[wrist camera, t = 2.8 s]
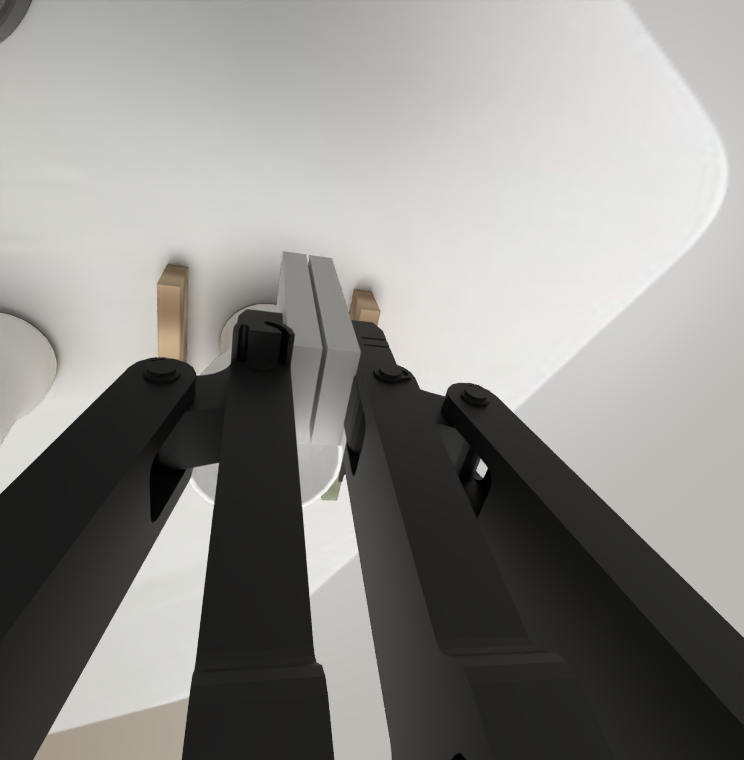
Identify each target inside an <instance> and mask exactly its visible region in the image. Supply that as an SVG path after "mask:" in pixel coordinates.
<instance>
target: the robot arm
mask: <svg viewBox="0 0 744 760" xmlns="http://www.w3.org/2000/svg"><path fill="white" fill-rule="evenodd" d="M30 2H31V0H0V43H1V42H2V41H3V40H5V39H6V38H7V37H8V36H9V35H10V34H11V33H12V32H13V31H14V29H15V28H16V27H17V26H18V24H19V23H20V21H21V20H22V18H23V17H24V15H25V13H26V11H27V9H28V7H29V5H30ZM344 429H345V435H346V440H347V441H346V445H345V450H344V454H343V459H342V463H341V468H340V472H339V477H338V482H342V481H343V476H344V475H345V474H346V479H347V485H348V491H349V497H350V503H351V509H352V515H353V521H354V527H355V533H356V539H357V545H358V551H359V557H360V563H361V568H362V574H363V581H364V587H365V592H366V599H367V605H368V610H369V617H370V622H371V629H372V635H373V640H374V647H375V653H376V659H377V665H378V671H379V676H380V683H381V689H382V695H383V701H384V707H385V712H386V719H387V724H388V731H389V737H390V743H391V752H392V760H744V637H742V636H741V635H740V634H739V633H738V632H737V631H736V630H735V629H734V628H733V627H732V626H731V625H730V624H729V623H728V622H727V621H726V620H725V619H724V618H723V617H722V616H721V615H720V614H719V613H718V612H717V611H716V610H715V609H714V608H713V607H712V606H711V605H710V604H709V603H708V602H707V601H706V600H704V598H703V597H702V596H701V595H699V594H698V593H697V592H696V591H695V590H694V589H693V588H692V587H691V586H690V585H689V584H688V583H687V582H686V581H685V580H684V579H683V578H682V577H681V576H680V575H679V574H678V573H677V572H676V571H675V570H674V569H673V568H672V567H671V566H670V565H669V564H668V563H667V562H666V561H665V560H664V559H663V558H661V557H660V555H659V554H657V553H656V552H655V551H654V550H653V549H652V548H651V547H650V546H649V545H648V544H647V543H646V542H645V541H644V540H643V539H642V538H641V537H640V536H639V535H638V534H637V533H636V532H635V531H634V530H633V529H632V528H631V527H630V526H629V525H628V524H627V523H626V522H625V521H624V520H623V519H622V518H621V517H620V516H618V514H617V513H615V512H614V511H613V510H612V509H611V508H610V507H609V506H608V505H607V504H606V503H605V502H604V501H603V500H602V499H601V498H600V497H599V496H598V495H597V494H596V493H595V492H594V491H593V490H591V488H590V487H589V486H588V485H586V483H585V482H584V481H582V479H581V478H580V477H578V475H577V474H576V473H575V472H573V471H572V470H571V469H570V468H569V467H568V466H567V465H566V464H565V463H564V462H563V461H562V460H561V459H560V458H559V457H558V456H557V455H556V454H555V453H554V452H553V451H552V450H551V449H550V448H549V447H548V446H547V445H546V444H545V443H544V442H543V441H542V440H541V439H540V438H539V437H538V436H537V435H535V433H534V432H532V431H531V430H530V429H529V428H528V427H527V426H526V425H525V424H524V423H523V422H522V421H521V420H520V419H519V418H518V417H517V416H516V415H515V414H514V413H513V412H512V411H511V410H510V409H509V408H508V407H507V406H506V405H505V404H504V403H503V402H502V401H501V400H500V399H499V398H498V397H497V396H495V395H494V394H493V393H491V392H490V391H489V390H486V389H484V388H482V387H481V386H479V385H476V384H475V385H474V384H472V383H457V384H452V385H451V386H450V387H449V388H448V390H447V393H446V396H441V395H437V394H434V393H430V392H427V391H424V390H421V389H420V388H419V386H418V383H417V381H416V379H415V377H414V376H413V375H412V373H411V372H409V371H408V370H406V369H405V368H404V367H401V366H399V365H397V364H396V362H395V359H394V357H393V354H392V352H391V350H390V348H389V345H388V342H387V341H386V338H385V335H384V333H383V331H382V330H381V329H380V328H379V327H378V326H376V325H375V324H374V323H373V322H365V321H357V320H351V319H350V315H349V312H348V309H347V306H346V302H345V299H344V296H343V293H342V289H341V286H340V283H339V280H338V277H337V273H336V270H335V267H334V264H333V260H332V258H325V257H319V256H312V255H309V262H308V264H307V258H306V255H305V254H298V253H291V252H285V251H283V254H282V263H281V272H280V280H279V289H278V298H277V306H276V312H268V311H260V310H251V309H246V310H245V311H244V312H242V313H241V314H240V315H239V316H238V321H237V323H236V324H235V326H234V328H233V337H232V351H231V364H230V365H229V366H228V367H227V368H225V369H224V370H222V371H219V372H216V373H213V374H207V375H199V376H196V373H195V370H194V368H193V367H192V366H190V365H189V364H187V363H186V362H183V361H180V360H177V359H172V358H166V357H158V358H157V357H155V358H149V359H146V360H142V361H139V362H136V363H135V364H133V365H132V366H130V367H129V368H128V369H127V370H126V371H125V372H124V373H123V374H122V375H121V376H120V377H119V378H118V379H117V380H116V381H115V382H114V383H113V384H112V385H111V386H110V387H109V388H108V389H107V390H105V391H104V392H103V393H102V394H101V395H100V396H99V397H98V398H97V399H96V400H95V401H94V402H93V403H92V404H91V405H90V406H89V407H88V408H87V409H86V410H85V411H84V412H83V413H82V414H81V415H80V416H79V417H78V418H77V419H76V420H75V421H74V422H73V423H72V424H71V425H70V426H69V427H68V428H67V429H66V430H65V431H64V432H63V433H62V434H61V435H60V436H59V437H58V438H57V439H56V440H55V441H54V442H53V443H52V444H51V445H50V446H49V447H48V448H47V449H46V450H45V451H44V452H43V453H42V454H41V455H40V456H39V457H38V458H37V459H35V460H34V461H33V462H32V463H31V464H30V465H29V466H28V467H27V468H26V469H25V470H24V471H23V472H22V473H21V474H20V475H19V476H18V477H17V478H16V479H15V480H14V481H13V482H12V483H11V484H10V485H9V486H8V487H7V488H6V489H5V490H4V491H3V492H2V493H1V494H0V760H33V759H34V757H35V755H36V753H37V751H38V750H39V748H40V746H41V744H42V743H43V741H44V739H45V737H46V736H47V734H48V732H49V730H50V728H51V727H52V725H53V723H54V721H55V719H56V718H57V716H58V714H59V712H60V711H61V709H62V707H63V705H64V703H65V702H66V700H67V698H68V696H69V694H70V693H71V691H72V689H73V687H74V686H75V684H76V682H77V680H78V678H79V677H80V675H81V673H82V671H83V669H84V668H85V666H86V664H87V662H88V661H89V659H90V657H91V655H92V653H93V652H94V650H95V648H96V646H97V644H98V643H99V641H100V639H101V637H102V636H103V634H104V632H105V630H106V628H107V627H108V625H109V623H110V621H111V619H112V618H113V616H114V614H115V612H116V611H117V609H118V607H119V605H120V603H121V602H122V600H123V598H124V596H125V594H126V593H127V591H128V589H129V587H130V586H131V584H132V582H133V580H134V578H135V577H136V575H137V573H138V571H139V569H140V568H141V566H142V564H143V562H144V561H145V559H146V557H147V555H148V553H149V552H150V550H151V548H152V546H153V544H154V543H155V541H156V539H157V537H158V536H159V534H160V532H161V530H162V528H163V527H164V525H165V523H166V521H167V519H168V518H169V516H170V514H171V512H172V511H173V509H174V507H175V505H176V503H177V502H178V500H179V498H180V496H181V494H182V493H183V491H184V489H185V487H186V486H187V484H188V482H189V480H190V478H191V476H192V472H193V468H194V467H199V466H205V465H210V464H215V463H219V467H218V475H217V484H216V493H215V501H214V510H213V518H212V527H211V535H210V544H209V553H208V561H207V570H206V578H205V587H204V595H203V604H202V613H201V621H200V630H199V638H198V647H197V655H196V663H195V670H194V672H193V676H192V682H191V689H190V697H189V705H188V713H187V721H186V729H185V737H184V746H183V754H182V760H334V752H333V742H332V732H331V721H330V711H329V702H328V692H327V685H326V678H325V674H324V670H323V667H322V665H320V664H319V663H317V662H316V659H315V655H314V647H313V636H312V623H311V611H310V598H309V586H308V574H307V561H306V549H305V537H304V525H303V512H302V500H301V488H300V476H299V464H298V451H297V443H298V444H306V441H307V436H308V430H310V440H311V444H317V445H336V446H341V441H342V437H343V432H344ZM480 459H482V461H483V462H484V463H485V464H486V466H487V467H488V470H487V472H486V474H485V476H484V478H482V477H481V476H480V475H479V474H478V473H477V471H476V469H477V466H478V464H479V461H480Z"/></svg>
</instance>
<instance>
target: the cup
mask: <svg viewBox="0 0 744 760" xmlns="http://www.w3.org/2000/svg"><path fill="white" fill-rule="evenodd" d="M276 306H277V305H274V304H257V305H253V306H249V307H246V308H244V309H242V310H240V311H239V312H237V313H235V314H234V315H233V316H232V317H231V318H230V319H229V320H228V321H227V323H226V325H225V326H224V328H223V330H222V333H221V338H220V351H221V355H220V356H219V357H218V358H217V359H216V360H214V361H213V362H212V363H211V364H210V365H209V366H208V367H207V368H206V369H205V370H204V371H203V372H202V374H201V375H207V374H213V373H216V372H219V371H222V370H224V369H225V368H227V367H228V366H229V365H230V364H231V351H232V337H233V328H234V326H235V324H236V323H237V321H238V316H239V315H240V314H241V313H242V312H244V311H245V310H246V309H251V310H260V311H268V312H276ZM345 445H346V435H345V429H344V432H343V437H342V441H341V446H336V445H317V444H311V440H310V430H308V436H307V441H306V444H298V443H297V451H298V464H299V476H300V488H301V500H302V508H303V507H305V506H307V505H309V504H311V503H313V502H314V501H315V500H317V499H318V498H319V497H320V496H322V495H323V494H324V493H325V492H327V490H328V489H329V488H330V486H331V485H332V484H333V482H334V481H335V480H336V478H337V477H338V474H339V471H340V468H341V463H342V459H343V454H344V450H345ZM218 467H219V463H215V464H210V465H205V466H199V467H194V468H193V472H192V476H191V478H190V480H189V481H190V483H191V485H192V486H193V488H194V489H195V490H196V491H197V492H198V493H199V494H200V495H201V496H202V497H203V498H204V499H205V500H206V501H208V502H210V503H212V504H213V505H214V501H215V493H216V484H217V475H218Z"/></svg>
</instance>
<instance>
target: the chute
mask: <svg viewBox="0 0 744 760" xmlns="http://www.w3.org/2000/svg"><path fill="white" fill-rule="evenodd" d="M187 303H188V267H181V266H174V265H167V266H166V268H165V270H164V272H163V274H162V276H161V278H160V280H159V281H158V283H157V313H158V357H166V358H172V359H177V360H180V361H183V362H186V354H187ZM349 315H350V319H351V320H357V321H365V322H373V323H374V324H375V325H376V326H377V324H378V320H379V315H380V310H379V307H378V305H377V303H376V301H375V298H374V296H373V294H372V292H369V291H362V290H354V293H353V298H352V303H351V308H350V313H349ZM346 441H347V440H346ZM339 472H340V471H339ZM338 477H339V474H338ZM338 477H337V478H336V480H335V481H334V482H333V484H332V485H331V486H330V488H329V489H328V490H327V492H325V493H324V494H323V495H322V496H321V499H322V500H337V499H338V494H339V490H340V485H341V482H338Z"/></svg>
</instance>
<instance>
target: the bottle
mask: <svg viewBox="0 0 744 760" xmlns="http://www.w3.org/2000/svg"><path fill="white" fill-rule="evenodd" d="M56 368H57V361H56V357H55V354H54V350H53V348H52V347H51V345H50V344H49V342H48V340H47V339H46V337H45V336H44V335H43V334H42V333H41V332H40V331H39V330H38V329H37V328H35V327H33V326H32V325H30V324H29V323H27V322H26V321H24V320H22V319H19V318H17V317H15V316H12V315H9V314H4V313H0V446H1V444H2V443H3V441H4V439H5V438H6V436H7V434H8V432H9V431H10V429H11V428H12V426H13V425H14V423H15V422H16V420H18V419H19V418H21V417H23V416H25V415H27V414H29V413H30V412H31V411H33V410H34V409H35V408H36V407H37V406H38V405H39V404H40V403H41V402H42V401H43V399H44V398H45V396H46V395H47V393H48V392H49V390H50V388H51V386H52V384H53V381H54V379H55V375H56Z"/></svg>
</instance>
